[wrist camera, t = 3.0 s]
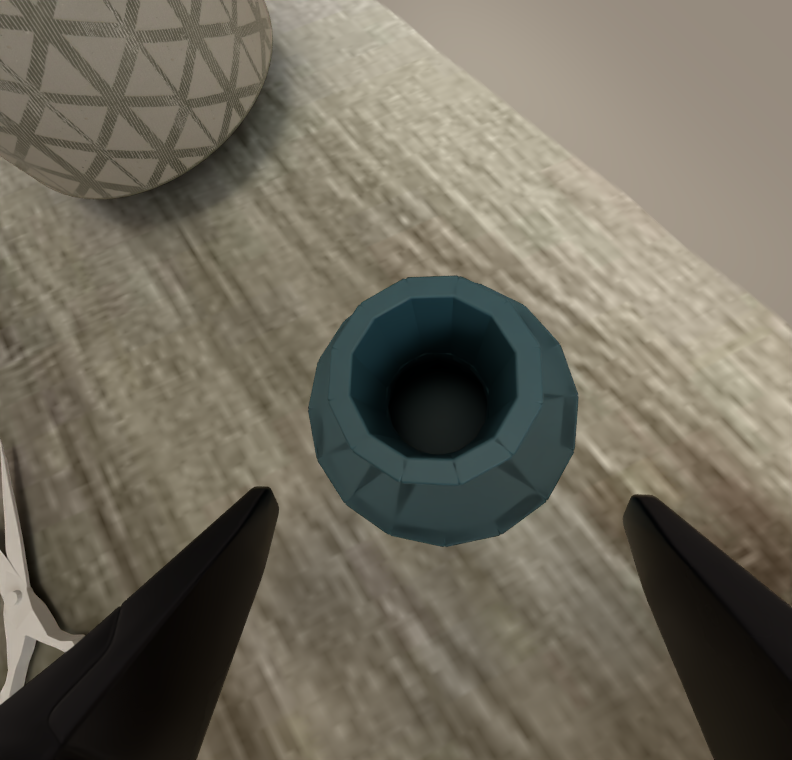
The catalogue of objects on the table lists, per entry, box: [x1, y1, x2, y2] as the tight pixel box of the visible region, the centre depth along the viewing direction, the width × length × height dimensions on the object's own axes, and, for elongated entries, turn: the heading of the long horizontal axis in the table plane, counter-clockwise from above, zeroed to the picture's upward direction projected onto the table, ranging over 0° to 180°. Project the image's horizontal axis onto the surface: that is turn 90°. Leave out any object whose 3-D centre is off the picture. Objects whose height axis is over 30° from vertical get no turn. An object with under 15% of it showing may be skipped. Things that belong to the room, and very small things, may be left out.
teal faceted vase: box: [308, 276, 578, 547], centre depth 12 cm, size 7×7×14 cm
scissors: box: [0, 439, 85, 705], centre depth 19 cm, size 11×1×20 cm
